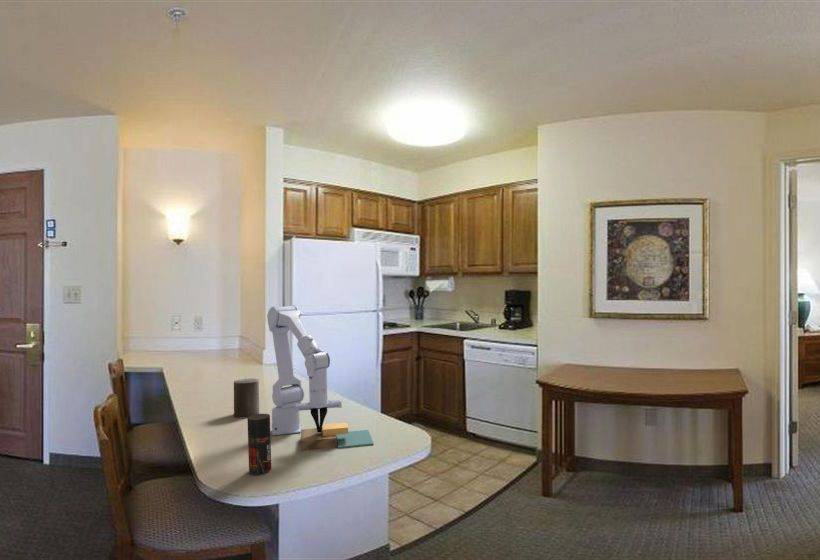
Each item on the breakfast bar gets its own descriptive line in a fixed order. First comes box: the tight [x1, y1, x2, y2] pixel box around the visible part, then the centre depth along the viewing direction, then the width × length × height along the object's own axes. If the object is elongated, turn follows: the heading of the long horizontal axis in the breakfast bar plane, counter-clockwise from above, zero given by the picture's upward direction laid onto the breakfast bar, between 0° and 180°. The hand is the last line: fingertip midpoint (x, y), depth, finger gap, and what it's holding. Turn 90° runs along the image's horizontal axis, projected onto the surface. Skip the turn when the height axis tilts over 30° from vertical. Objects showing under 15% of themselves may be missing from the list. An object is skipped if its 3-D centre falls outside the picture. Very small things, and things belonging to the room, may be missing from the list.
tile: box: [322, 422, 349, 436], centre depth 148 cm, size 8×6×2 cm
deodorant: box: [246, 413, 272, 476], centre depth 127 cm, size 6×6×15 cm
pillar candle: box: [233, 377, 260, 418], centre depth 184 cm, size 10×10×15 cm
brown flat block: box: [299, 427, 338, 452], centre depth 147 cm, size 11×12×3 cm
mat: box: [336, 429, 374, 449], centre depth 150 cm, size 11×14×1 cm
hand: (319, 431), depth 147 cm, fingers closed
